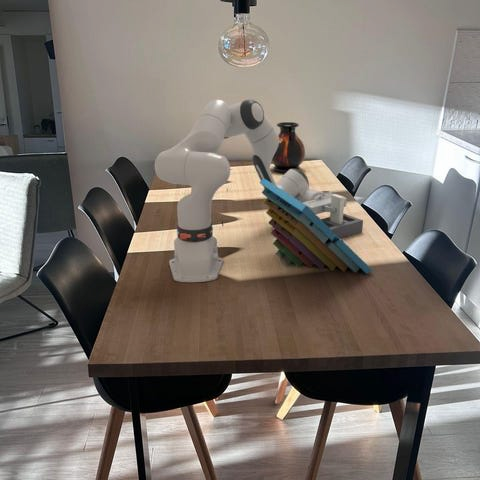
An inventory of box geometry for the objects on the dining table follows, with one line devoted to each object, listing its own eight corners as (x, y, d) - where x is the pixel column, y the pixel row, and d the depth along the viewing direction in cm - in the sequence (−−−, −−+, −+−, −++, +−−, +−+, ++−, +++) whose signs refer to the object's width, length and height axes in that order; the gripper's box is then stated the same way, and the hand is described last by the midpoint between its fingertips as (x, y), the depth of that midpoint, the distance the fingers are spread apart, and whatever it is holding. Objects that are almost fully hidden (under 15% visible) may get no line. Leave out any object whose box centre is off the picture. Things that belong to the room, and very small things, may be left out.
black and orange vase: (263, 168, 304) (264, 122, 294) (296, 165, 310) (297, 120, 300) (276, 176, 285) (277, 127, 275) (310, 173, 291) (312, 125, 281)
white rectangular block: (342, 226, 195) (344, 197, 190) (338, 227, 194) (340, 198, 189) (333, 222, 199) (335, 194, 194) (329, 223, 197) (331, 195, 193)
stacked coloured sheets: (292, 267, 193) (231, 214, 177) (322, 234, 192) (263, 177, 176) (336, 309, 162) (266, 249, 146) (372, 269, 161) (306, 205, 145)
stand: (362, 231, 198) (363, 220, 196) (328, 242, 188) (329, 230, 186) (342, 224, 206) (342, 213, 205) (308, 234, 196) (309, 222, 195)
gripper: (295, 198, 197) (319, 207, 186) (332, 190, 208) (356, 197, 197) (295, 213, 199) (318, 222, 189) (331, 204, 210) (355, 212, 200)
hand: (338, 209), depth 193 cm, fingers closed on white rectangular block, 2 cm apart
